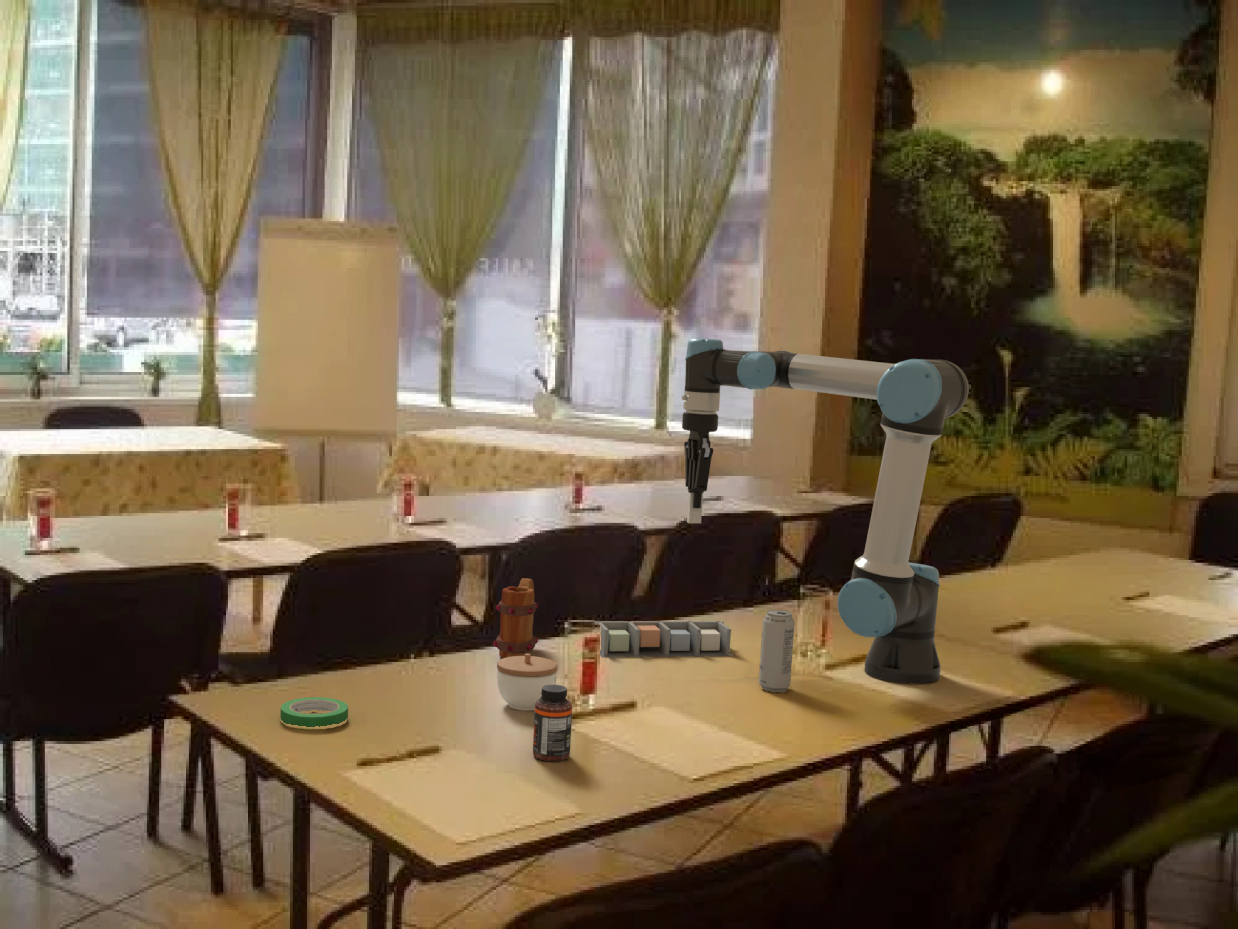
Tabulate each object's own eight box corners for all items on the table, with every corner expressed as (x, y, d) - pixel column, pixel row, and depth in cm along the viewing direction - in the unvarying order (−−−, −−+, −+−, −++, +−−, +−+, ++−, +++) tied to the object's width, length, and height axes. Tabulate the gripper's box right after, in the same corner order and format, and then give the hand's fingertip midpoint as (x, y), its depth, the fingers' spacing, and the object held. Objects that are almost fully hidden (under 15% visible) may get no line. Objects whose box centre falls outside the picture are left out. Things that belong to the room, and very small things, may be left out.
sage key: (628, 651, 291) (629, 634, 291) (609, 651, 290) (610, 634, 290) (623, 646, 295) (624, 629, 295) (605, 646, 294) (605, 629, 294)
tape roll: (317, 736, 231) (317, 720, 231) (266, 723, 237) (266, 707, 236) (361, 720, 241) (361, 705, 241) (311, 708, 246) (311, 693, 246)
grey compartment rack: (733, 660, 294) (735, 630, 293) (601, 662, 287) (603, 631, 286) (718, 648, 304) (720, 619, 303) (590, 649, 297) (592, 620, 296)
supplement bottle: (531, 750, 229) (535, 681, 228) (568, 751, 230) (572, 682, 229) (532, 762, 223) (536, 692, 222) (570, 763, 224) (574, 693, 223)
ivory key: (719, 650, 296) (720, 633, 296) (701, 650, 295) (702, 634, 295) (713, 645, 300) (714, 629, 300) (695, 645, 299) (696, 629, 299)
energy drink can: (764, 683, 278) (769, 607, 276) (794, 688, 275) (799, 612, 274) (753, 690, 273) (758, 613, 271) (783, 695, 270) (789, 617, 268)
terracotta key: (659, 646, 293) (660, 630, 292) (640, 646, 292) (641, 630, 291) (654, 642, 297) (655, 625, 296) (635, 642, 296) (636, 625, 295)
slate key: (689, 650, 294) (690, 634, 294) (670, 650, 294) (671, 634, 293) (683, 645, 298) (684, 629, 298) (665, 646, 297) (666, 629, 297)
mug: (528, 666, 281) (531, 591, 279) (488, 661, 282) (491, 587, 281) (546, 649, 295) (550, 577, 293) (508, 645, 297) (512, 574, 295)
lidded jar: (509, 717, 247) (511, 664, 246) (485, 700, 256) (488, 649, 255) (565, 711, 252) (568, 659, 251) (540, 695, 261) (542, 645, 260)
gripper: (674, 408, 305) (668, 517, 308) (692, 414, 293) (685, 527, 296) (708, 409, 307) (701, 518, 310) (727, 415, 295) (720, 528, 298)
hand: (693, 522), depth 303 cm, fingers closed
